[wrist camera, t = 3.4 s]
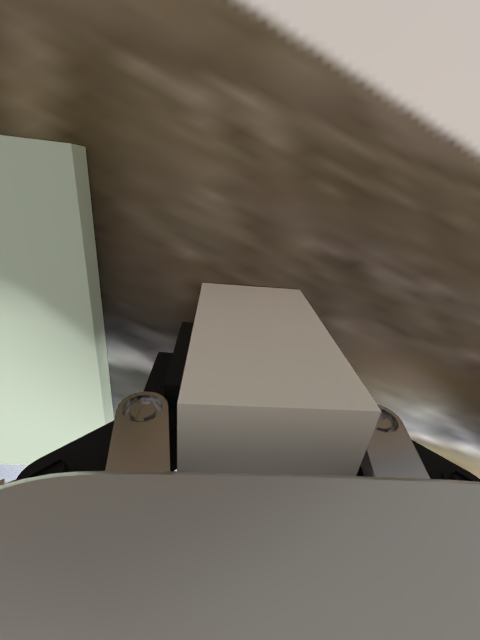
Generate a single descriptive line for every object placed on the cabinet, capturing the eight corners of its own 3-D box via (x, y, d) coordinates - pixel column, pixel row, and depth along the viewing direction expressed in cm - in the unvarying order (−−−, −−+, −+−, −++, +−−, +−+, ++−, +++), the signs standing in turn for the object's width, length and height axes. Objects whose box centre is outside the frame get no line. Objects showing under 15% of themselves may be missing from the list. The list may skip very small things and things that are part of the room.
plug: (299, 289, 12) (382, 411, 6) (276, 410, 15) (315, 580, 9) (202, 282, 12) (177, 403, 6) (197, 407, 15) (177, 582, 8)
